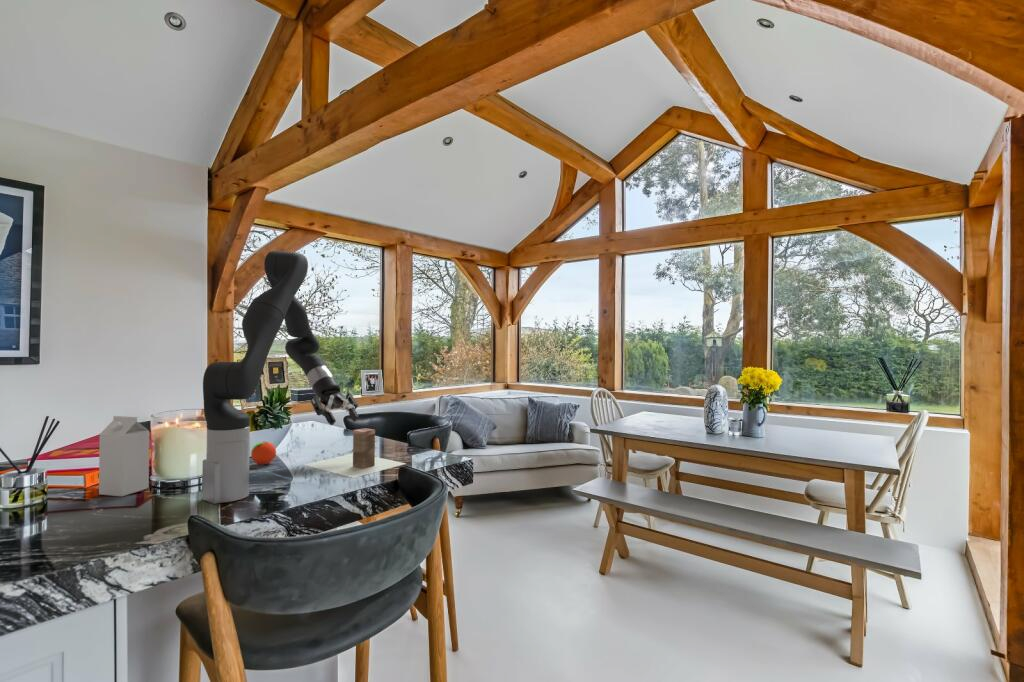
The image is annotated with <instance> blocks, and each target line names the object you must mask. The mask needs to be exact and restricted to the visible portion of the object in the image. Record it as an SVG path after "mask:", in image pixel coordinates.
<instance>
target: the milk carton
mask: <svg viewBox="0 0 1024 682" xmlns="http://www.w3.org/2000/svg"><path fill="white" fill-rule="evenodd" d="M98 456H99V457H98V458H99V463H98V466H99V468H98V470H99V471H98V475H99V476H98V494H99V495H103V496H111V497H112V496H113V497H124V496H129V495H130V494H134V493H138V492H141V491H144V490H148V489H149V485H150V482H149V480H150V475H149V471H150V430H149V428H147V427H145V426H144V425H142V424H141V423H140V422H139V421H138V417H137V416H125V415H124V416H123V415H113V417H112V421H111V422H110V423H108V425H107V426H105V428H104V429H103V430H102V431H101V432H100V433H99V455H98Z"/></svg>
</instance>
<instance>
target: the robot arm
mask: <svg viewBox="0 0 1024 682" xmlns="http://www.w3.org/2000/svg"><path fill="white" fill-rule="evenodd" d="M263 265H264V266H263V267H264V272H265V275H266V278H267V281H268V283H269V285H270V288H269V289H268V290H266V291H264V292H263V293H261V294H259V295H258V296H256V298H254V299H253V301H252V302H251V303H250V304H249V306H248V308H247V310H246V312H245V314H244V316H243V318H242V321H241V328H242V333H243V335H244V339H245V340H246V341H245V342H246V345H247V349H246V352H245V355H244V356H243V359H242V360H240V361H215V362H211V363H210V364H209V365H207V367H206V369H205V371H204V374H203V378H202V393H203V394H202V397H203V414H204V419H205V422H206V458H205V459H203V460H202V469H201V470H202V473H201V474H202V475H201V476H202V479H201V480H202V481H201V483H202V485H201V486H202V488H201V499H202V500H204V501H205V502H208V503H209V504H210V503H211V504H213V505H215V504H221V503H231V502H235V501H239V500H243V499H244V498H245V499H246V498H247V497H249V495H250V455H251V452H250V442H251V441H250V439H251V437H250V436H251V426H250V425H251V417H250V415H249V414H248V413H246V412H245V411H242V410H240V409H238V408H236V407H235V406H234V405H233V404H232V402H231V401H232V400H234V401H235V400H236V401H237V400H238V401H239V400H240V401H241V400H248V399H249V398H251V397H252V396H254V393H255V392H256V390H257V389H258V386H259V383H260V381H261V377H262V374H263V371H264V367H265V365H266V362H267V358H268V356H269V353H270V350H271V348H272V346H273V344H274V341H275V339H276V337H277V335H278V333H279V331H280V329H281V327H282V325H283V322H284V323H285V327H286V330H287V331H286V332H287V333H288V335H289V336H290V337H292V339H290V340H287V342H286V343H285V346H284V349H285V353H286V354H287V356H288V357H289V358H290V359H291V360H292V361H293V362H294V363H296V364H297V365H298V366H299V367H300V369H302V372H303V373H304V374H305V376H306V378H307V380H308V384H309V386H310V387H311V390H313V392H314V396H313V398H312V399H311V400H310V403H311V405H312V407H313V409H314V412H315V414H316V415H317V416H323V417H324V418H325V420H326V422H327V423H328V424H329V425H330V426H333V425H335V423H336V421H337V420H336V418H335V417H334V415H333V413H332V411H331V410H334V409H340V410H342V411H346V412H347V413H348V415H349V416H350V418H351V420H352V422H354V423H355V422H357V421H358V420H359V417H360V416H359V414H358V412H357V411H356V410H357V408H358V407H359V403H358V402H357V400H356V399H355V397H354V396H353V394H352V393H351V392H347V394H343V393H342V392H341V387H340V386H339V383H338V381H337V380H336V379H335V376H334V375H333V374H332V372H331V370H330V369H329V368H328V366H327V365H326V363H325V361H324V359H323V358H322V356H320V355H318V354H317V352H319V351H320V343H319V340H318V339H317V337H316V336H315V334H314V333H313V331H312V329H311V326H310V321H309V317H308V312H307V310H306V307H305V306H304V305H303V303H301V301H300V300H299V299H298V298H297V297H296V294H297V293H298V291H299V290H300V287H301V286H302V284H303V283H304V282H305V281H304V280H305V279H306V276H307V274H308V269H309V263H308V258H307V256H305V255H304V254H303V253H299V252H295V251H294V252H293V251H282V250H271V251H269V252H267V254H266V256H265V258H264V264H263ZM343 404H344V405H343Z"/></svg>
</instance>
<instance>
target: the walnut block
mask: <svg viewBox="0 0 1024 682" xmlns="http://www.w3.org/2000/svg"><path fill="white" fill-rule="evenodd" d="M352 439H353V440H352V441H353V442H352V454H353V467H357V468H361V469H364V468H368V467H372V466H375V457H376V456H375V455H376V449H375V448H376V444H375V443H376V429H372V428H365V427H364V428H358V429H353V431H352Z"/></svg>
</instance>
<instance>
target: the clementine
mask: <svg viewBox="0 0 1024 682" xmlns="http://www.w3.org/2000/svg"><path fill="white" fill-rule="evenodd" d="M250 455H251V459H252V461H253V462H254V463H255V464H257V465H260V466H261V465H262V466H263V465H264V464H265V465H268V464H270V463H271V462H272V461H273V460H274V459H275V457H276V455H277V449H276V447H275V445H274V444H272V443H271V442H268V441H261V442H258V443H256V444H255V445H254V446H253V447H252V449H251V452H250Z"/></svg>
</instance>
